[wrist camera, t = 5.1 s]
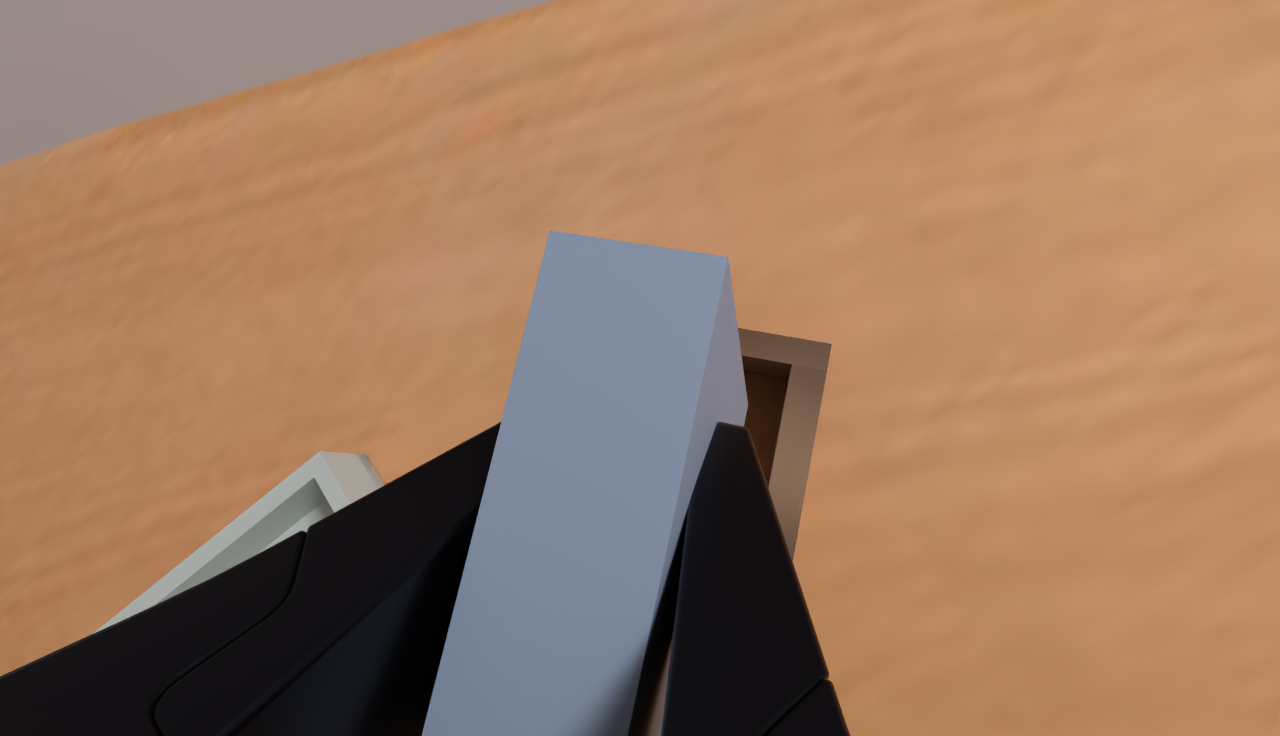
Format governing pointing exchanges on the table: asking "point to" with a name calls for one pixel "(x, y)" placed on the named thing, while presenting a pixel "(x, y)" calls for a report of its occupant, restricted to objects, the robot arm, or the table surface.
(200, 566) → the tray
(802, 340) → the rack
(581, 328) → the pale blue tall block
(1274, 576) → the table surface
